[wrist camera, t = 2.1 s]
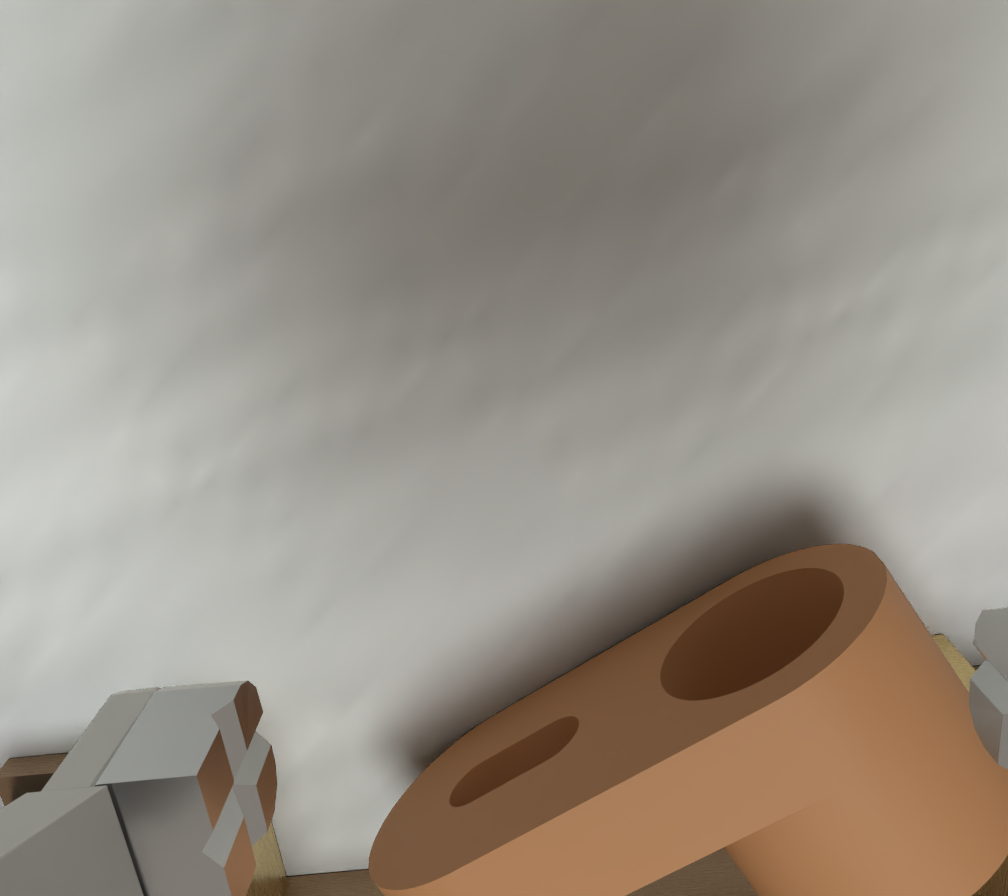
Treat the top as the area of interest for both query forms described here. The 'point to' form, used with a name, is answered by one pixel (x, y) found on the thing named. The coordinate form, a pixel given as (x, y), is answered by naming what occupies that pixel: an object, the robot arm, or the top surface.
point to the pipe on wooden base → (685, 892)
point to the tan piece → (723, 757)
